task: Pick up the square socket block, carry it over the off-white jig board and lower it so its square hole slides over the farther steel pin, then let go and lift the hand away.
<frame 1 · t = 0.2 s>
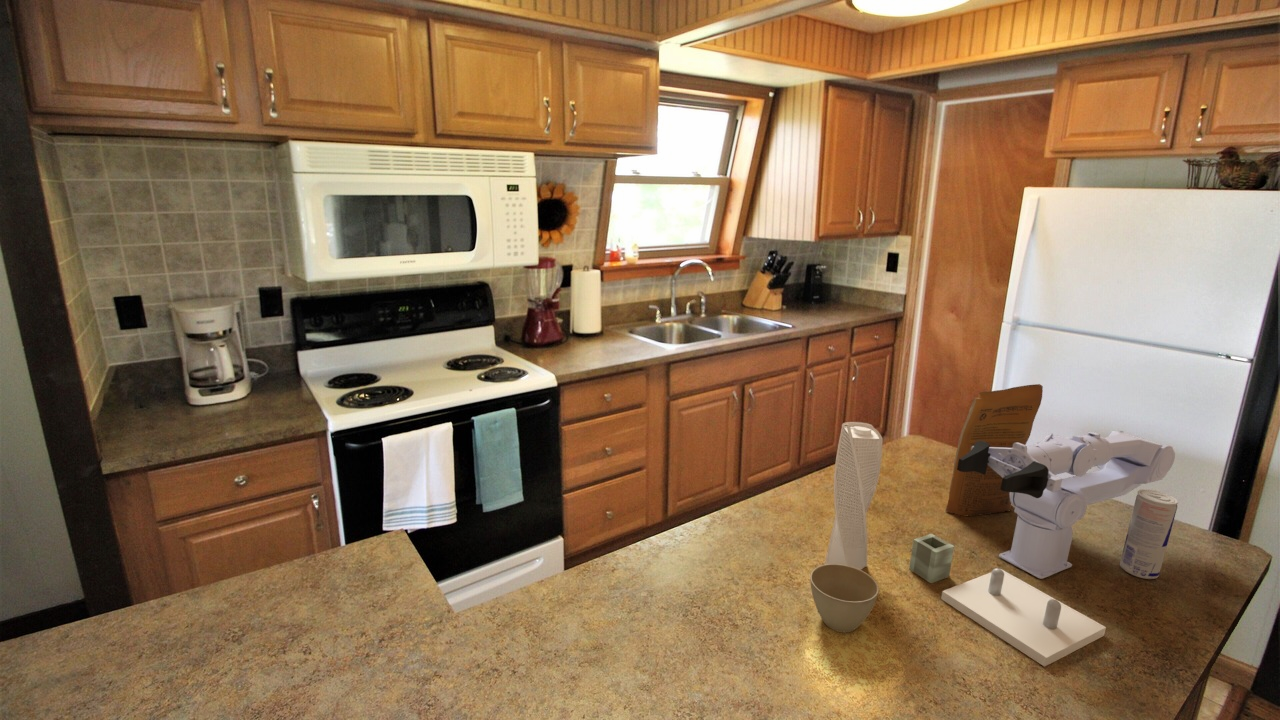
hand: (980, 474, 101), 21 cm above the countertop, tool horizontal, fingers open, 7 cm apart
pancake mix bag: (981, 511, 134), on the countertop
square socket block: (928, 573, 111), on the countertop
skyscraper: (844, 567, 113), on the countertop
jig board: (1019, 616, 100), on the countertop
flower pot: (839, 622, 98), on the countertop
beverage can: (1138, 572, 113), on the countertop
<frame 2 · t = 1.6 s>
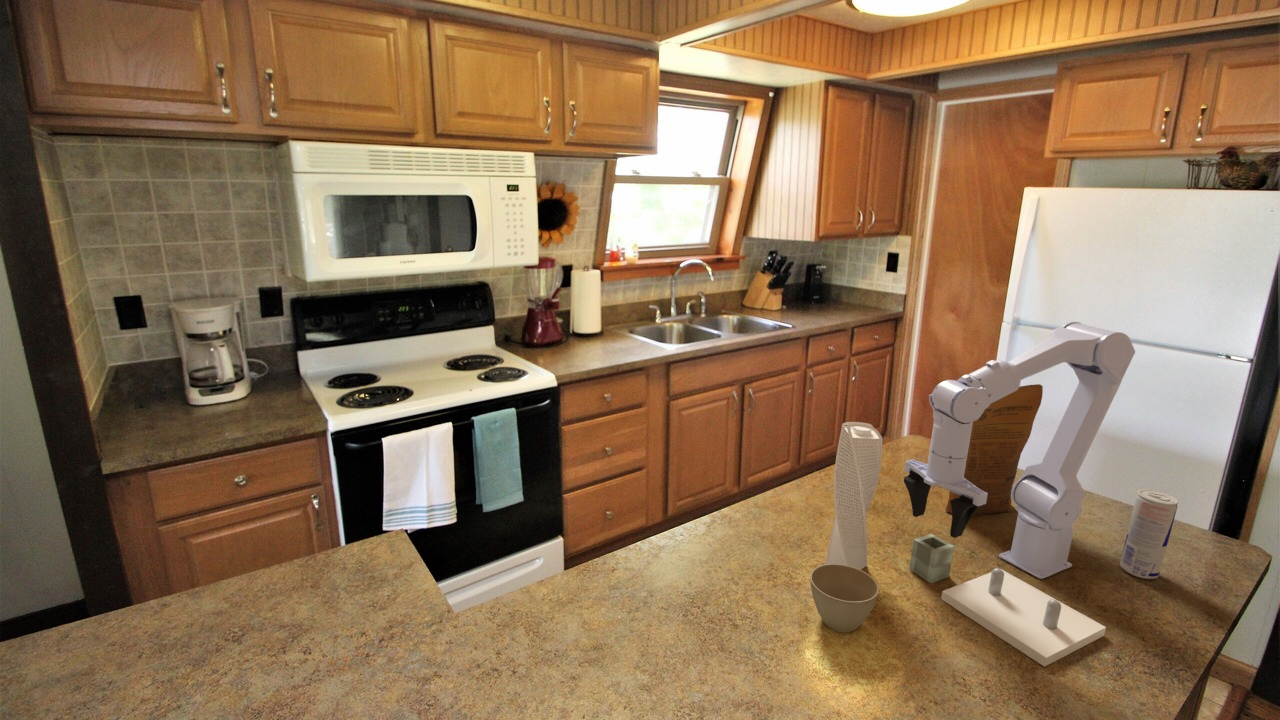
hand: (936, 525, 109), 9 cm above the countertop, tool pointing down, fingers open, 7 cm apart
nothing on the countertop moved.
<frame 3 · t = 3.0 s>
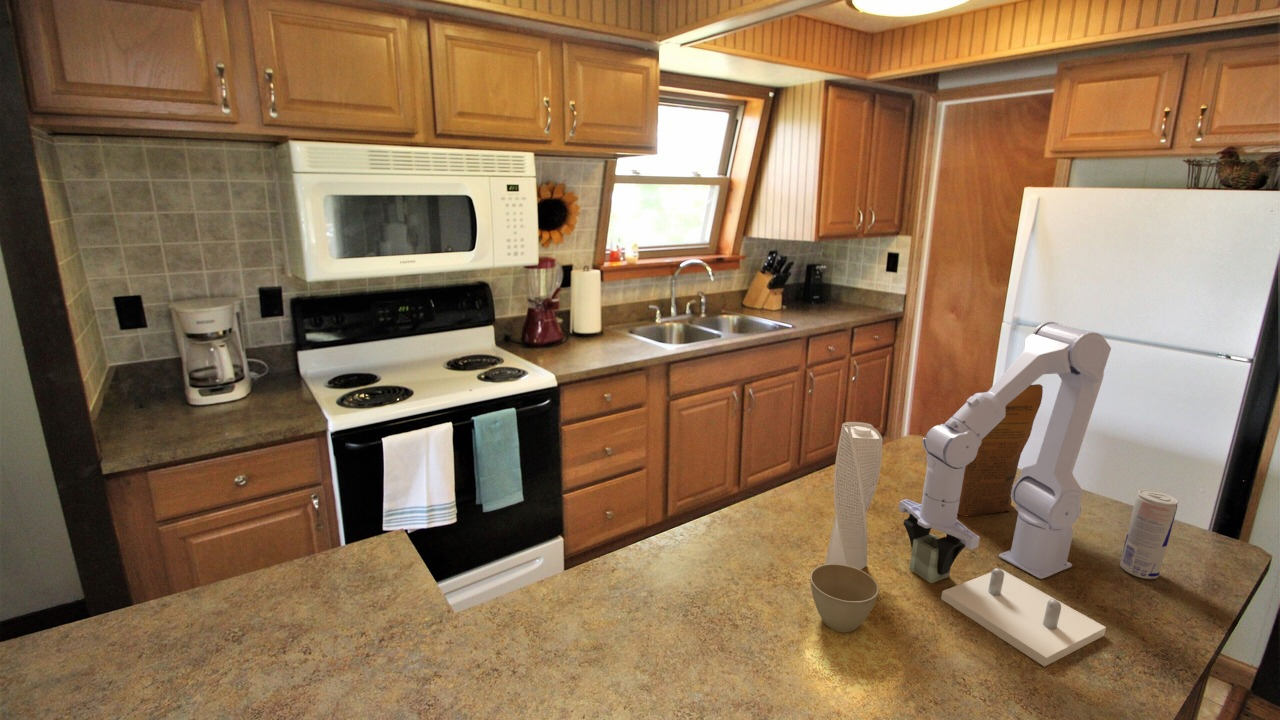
hand: (930, 564, 111), 2 cm above the countertop, tool pointing down, fingers closed on square socket block, 5 cm apart
square socket block: (929, 573, 111), on the countertop, touching gripper
everything else where it was.
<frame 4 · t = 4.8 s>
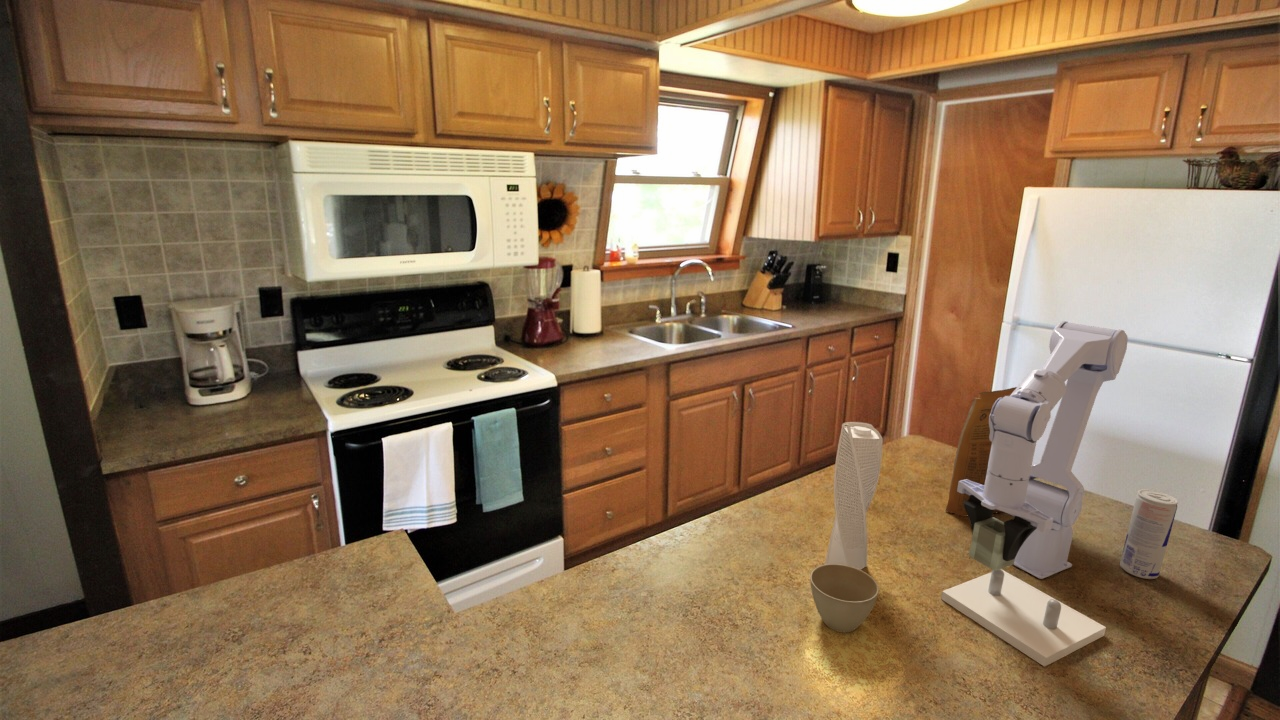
hand: (993, 550, 101), 9 cm above the countertop, tool pointing down, fingers closed on square socket block, 5 cm apart
square socket block: (991, 560, 102), point 8 cm above the countertop, touching gripper
everything else where it was.
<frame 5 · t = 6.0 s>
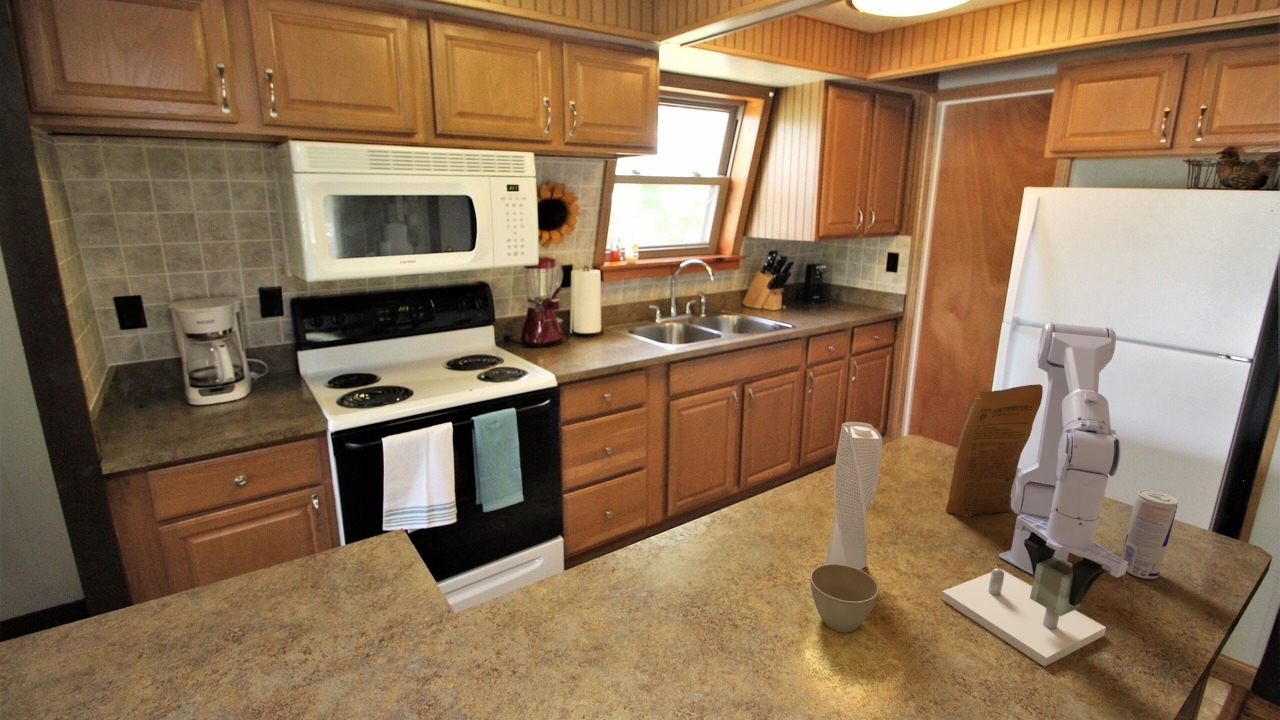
hand: (1056, 593, 94), 7 cm above the countertop, tool pointing down, fingers closed on square socket block, 5 cm apart
square socket block: (1054, 603, 95), point 6 cm above the countertop, touching gripper
everything else where it was.
when the fingers open (5 cm above the countertop, at t = 7.0 s): square socket block drops 1 cm, resting on jig board.
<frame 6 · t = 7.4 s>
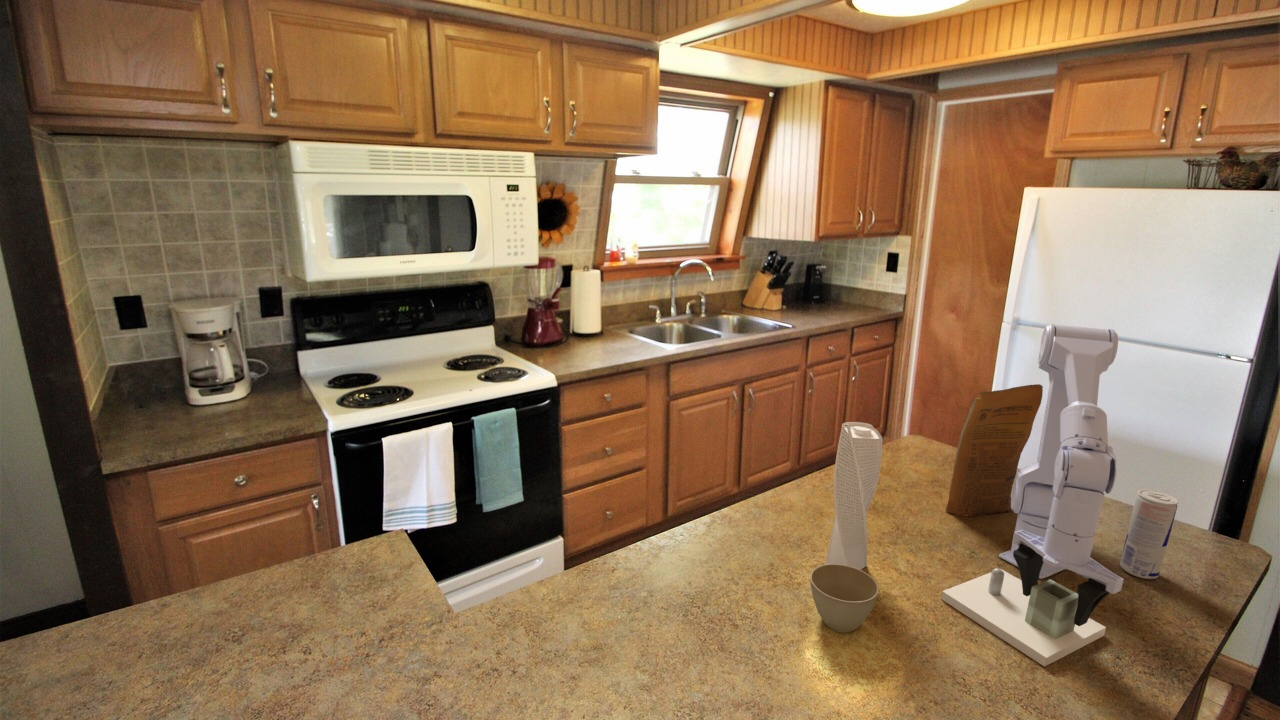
hand: (1053, 607, 95), 5 cm above the countertop, tool pointing down, fingers open, 7 cm apart
square socket block: (1048, 625, 96), point 1 cm above the countertop, touching jig board
everything else where it was.
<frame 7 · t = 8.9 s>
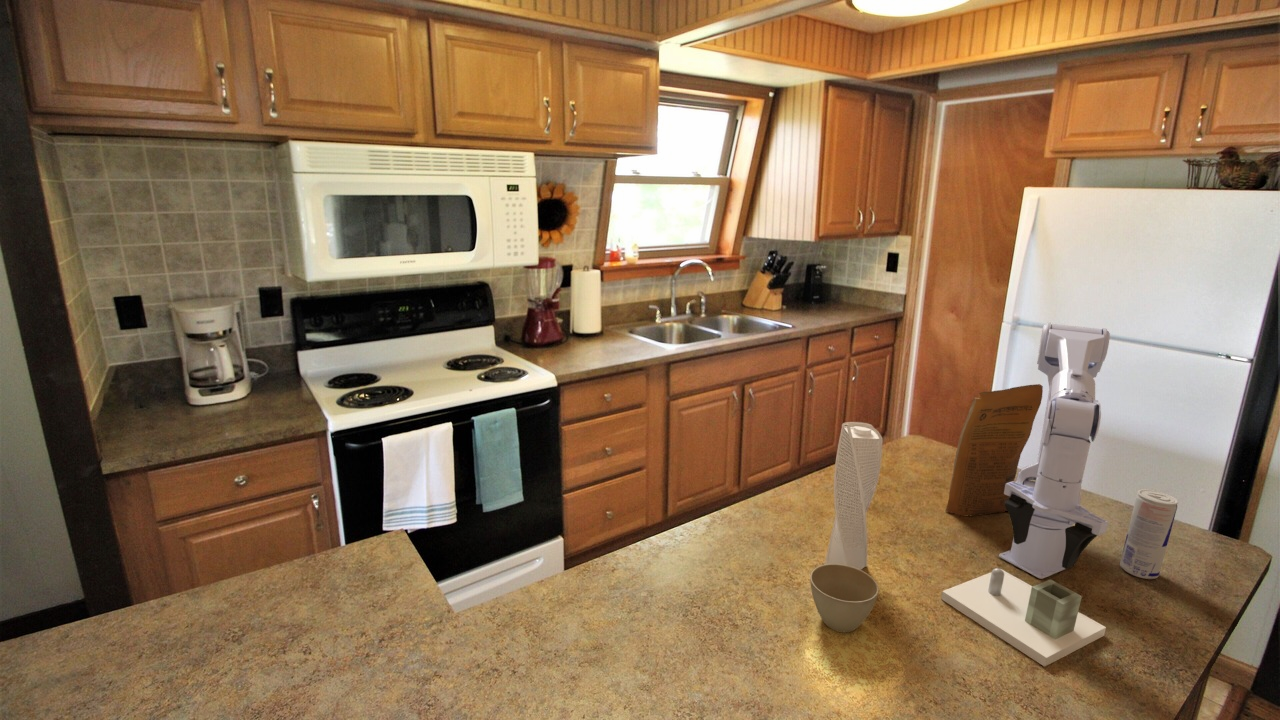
hand: (1043, 553, 100), 10 cm above the countertop, tool pointing down, fingers open, 7 cm apart
nothing on the countertop moved.
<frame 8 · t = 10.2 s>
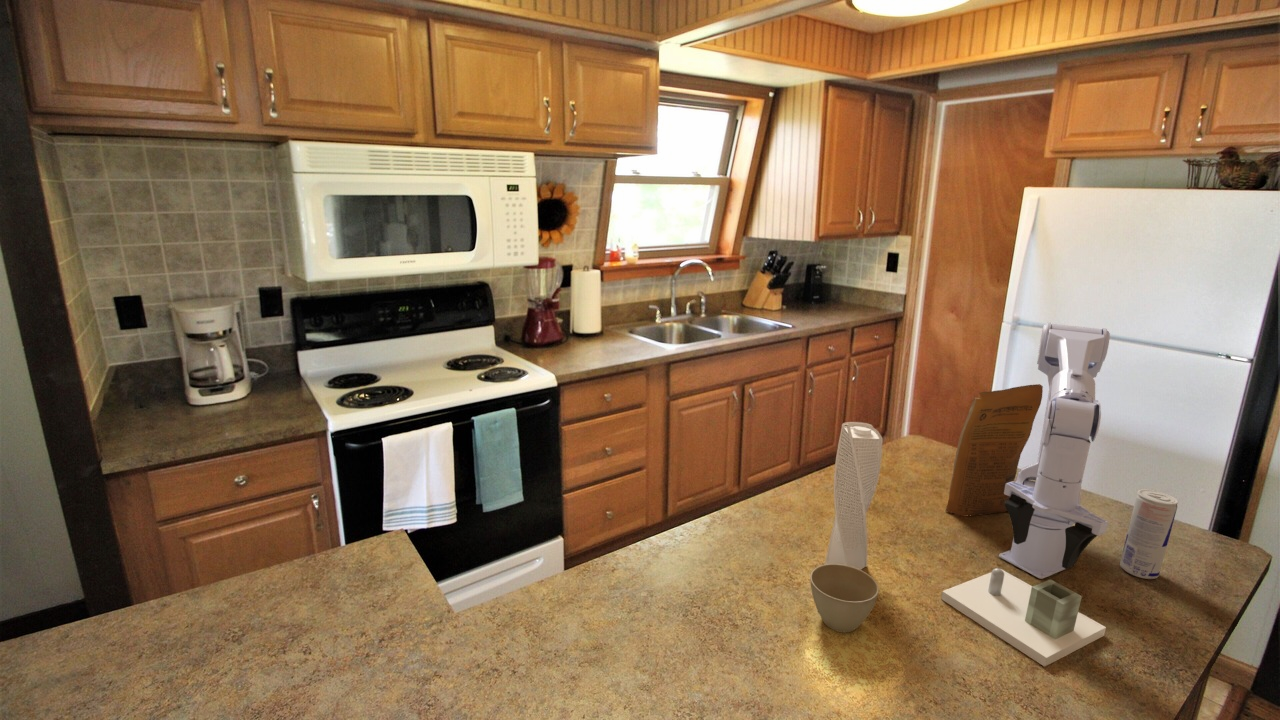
hand: (1043, 553, 100), 10 cm above the countertop, tool pointing down, fingers open, 7 cm apart
nothing on the countertop moved.
at the end: square socket block 0.2 cm from the target spot on the jig board, point 1.5 cm above the jig board's base; square socket block tilted 0°; the gripper is holding nothing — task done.
